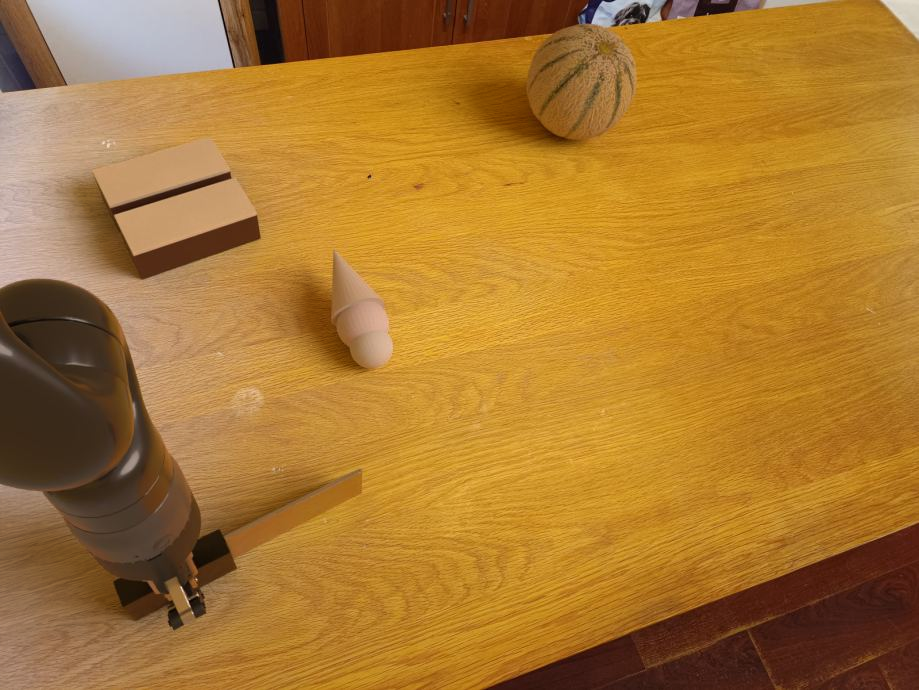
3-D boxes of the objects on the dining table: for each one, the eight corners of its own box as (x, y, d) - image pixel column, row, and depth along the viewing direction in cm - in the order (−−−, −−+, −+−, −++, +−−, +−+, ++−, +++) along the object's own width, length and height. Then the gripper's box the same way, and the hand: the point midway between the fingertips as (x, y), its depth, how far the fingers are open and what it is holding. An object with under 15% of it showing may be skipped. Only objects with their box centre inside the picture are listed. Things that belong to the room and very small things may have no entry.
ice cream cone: (338, 225, 79) (386, 347, 74) (369, 241, 84) (416, 356, 79) (295, 255, 81) (339, 376, 76) (328, 269, 86) (371, 382, 81)
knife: (136, 621, 63) (120, 605, 58) (126, 596, 64) (110, 579, 60) (366, 501, 71) (367, 480, 67) (355, 481, 72) (355, 458, 68)
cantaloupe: (533, 82, 111) (556, -14, 98) (627, 112, 109) (662, 18, 97) (504, 141, 102) (524, 44, 90) (605, 174, 101) (640, 81, 89)
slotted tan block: (142, 279, 82) (132, 253, 79) (102, 198, 88) (91, 169, 85) (261, 238, 88) (256, 212, 84) (215, 164, 94) (210, 136, 90)
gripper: (46, 449, 52) (113, 534, 66) (109, 627, 46) (168, 679, 60) (152, 405, 55) (195, 496, 69) (225, 568, 49) (255, 630, 63)
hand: (182, 581), depth 64 cm, fingers closed on knife, 2 cm apart
